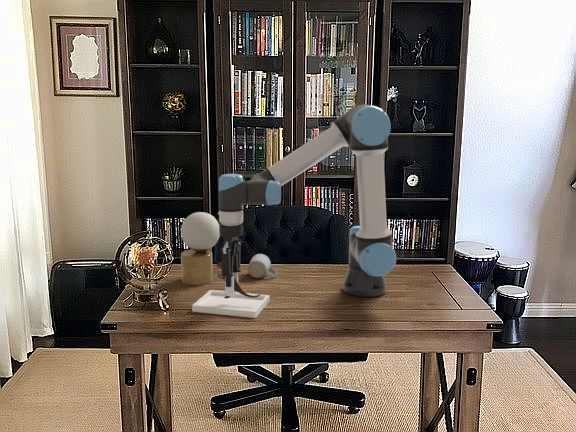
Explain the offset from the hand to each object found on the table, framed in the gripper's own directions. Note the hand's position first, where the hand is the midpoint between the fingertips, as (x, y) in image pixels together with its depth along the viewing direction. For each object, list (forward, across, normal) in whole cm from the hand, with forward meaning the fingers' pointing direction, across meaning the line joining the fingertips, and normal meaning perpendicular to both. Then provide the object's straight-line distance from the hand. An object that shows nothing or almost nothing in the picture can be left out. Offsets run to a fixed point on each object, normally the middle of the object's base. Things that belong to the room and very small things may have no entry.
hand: (231, 293), depth 206 cm
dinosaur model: (+1, 0, +2) cm, 3 cm away
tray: (+4, 0, 0) cm, 4 cm away
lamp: (+4, -24, -20) cm, 32 cm away
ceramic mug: (+5, -34, 0) cm, 35 cm away
